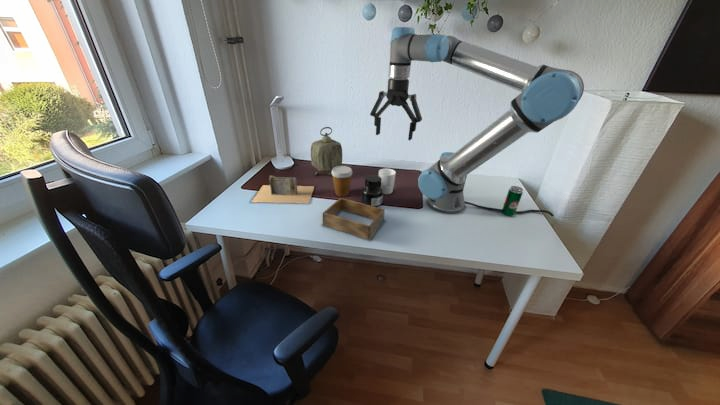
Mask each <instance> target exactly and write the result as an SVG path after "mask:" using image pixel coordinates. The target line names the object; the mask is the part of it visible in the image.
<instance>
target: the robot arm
mask: <svg viewBox="0 0 720 405" xmlns="http://www.w3.org/2000/svg"><path fill="white" fill-rule="evenodd" d="M389 44H390V45H389V46H390V48H389V64H388V76H387V77H388V79H387V90H386V91H384V90H381V91H379V92H378V98H377V100H376V102H375V103H374V106H373V108H372V109H371V110H370V111H371V112H370V113H369V115H370V116H371V117H373V118H374V123H373V125H374V126H375V136H379V135H380V134H381V125H382V124H381V122H382V117H381V116H382V114H383V113H384V112H385V111H386V110H387V108H388V107H389V106H392V107H393V106H394V107H395V106H396V107H402V109H403V110H404V111H405V113H406V114H407V116H408V117H409V119H410V123H409V128H408V129H409V130H408V137H407V138H408V139H407V140H408V141H411V140H412V139H413V134H414V132H415V131H416V130H417V123H421V122H422V121H423V117H422V114H421V111H420V107H419V104H418V101H417V94H416V93H413V94H409V86H410V79H409V78H410V74H411V68H412V61H415V62H430V63H441V62H443V63H447V64H450V65H452V66H455V67H458V68H460V69H462V70H465V71H467V72H471V73H473V74H475V75H478V76H480V77H483V78H485V79H487V80H490V81H493V82H495V83H498V84H500V85H503V86H506V87H508V88H510V89H513V90H516V91H518V92H520V93H519V94H518V95H517V96H515V97H514V98H513V99H512V100H511V101H510V104H509V109H508V110H506V112H504V113H503V114H502V115H500V116H499V117H498V118H496V120H493V122H491V123H490V124H489V125H487V127H485V128H484V129H483V130H482V131H480V132H479V133H478V134H476V135H474V137H473V138H471V139H470V140H469V141H468V142H466V143H465V144H464V145H463V146H461V147H460V148H458V149H457V151H455V152H451V151H445V152H442V153H441V154H440V157H439V159H438V160H437V161H436V162H435V163H433V164H432V165H431V166H429V167H428V168H427V169H425V170H423V171H422V172H421V173H420V174H419V176H418V178H417V179H418V180H417V182H418V183H417V186H418V188H419V191H420V193H421V194H422V195H423V196H424V197H426V198H427V204H428V206H429V207H430V208H432V209H433V210H435V211H437V212H440V213H444V214H457V213H460V212H462V211H463V210H464V208H465V205H469V206H473V207H476V208H480V209H483V210H489V211H495V212H502V209H503V208H502V209H501V208H496V207H489V206H483V205H480V204H479V205H478V204H475V203H472V202H469V201H465V196H464V189H465V185H466V181H467V177H468V175H469V174H470V173H472V172H473V171H475V170H476V169H478V168H479V167H480V166H482V165H483V164H485V163H487V162H488V161H489V160H491V159H492V158H494V157H495V156H497V155H498V154H499V153H501V152H502V151H504V150H505V149H507V148H508V147H510V146H511V145H512V144H514V143H515V142H517V141H518V140H520V139H521V138H522V137H524V136H526V135H527V134H529V133H535V134H537V133H539V132H541V131H543V130H544V129H546V128H547V127H548V126H550V125H552V124H553V123H554V122H557V121H558V120H561V119H563V118H565V117H566V116H568V115H569V114H570V113H572V111H573V110H574V109H575V108H576V107H577V105H578V104H579V101H580V100H581V99H582V97H583V94H584V89H585V83H584V80H583V78H582V77H581V75H579V74H578V73H577V72H576V71H573V70H570V69H563V68H558V67H553V66H549V65H547V64H541V65H540V64H539V65H538V66H537V65H534V64H530V63H528V62H525V61H522V60H519V59H516V58H513V57H510V56H508V55H504V54H502V53H499V52H495V51H493V50H490V49H488V48H484V47H482V46H479V45H475V44H473V43H470V42H467V41H464V40H461V39H459V38H457V37H455V36H454V35H447V34H446V35H445V34H441V33H431V34H417V33H415V28H414V27H410V26H396V27H393V28H392V30H391V38H390V42H389ZM385 97H386V99H387V100H386V102H385V103H384V104H383V105H382V106H381V104H382V102H383V100H384V99H385ZM408 99H409V101H410V103H411V106H412V109H411V107H410V105H409V103H408ZM380 106H381V107H380ZM379 108H380V109H379ZM526 213H546V214H549V215H550V216H551V217H555V215H554V214H553V213H552V212H551V211H549V210H545V209H526V210H516V213H515V214H526Z"/></svg>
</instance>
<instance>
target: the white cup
mask: <svg viewBox="0 0 720 405" xmlns="http://www.w3.org/2000/svg"><path fill="white" fill-rule="evenodd" d="M396 174H397V172H396V170H395V169H392V168H388V167H387V168H386V167H385V168H381V169H379V170H378V176H379V177H381V188H382V189H383V195H391V194H392V193H393V192H394V187H395V181H396Z"/></svg>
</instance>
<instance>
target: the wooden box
mask: <svg viewBox="0 0 720 405" xmlns="http://www.w3.org/2000/svg"><path fill="white" fill-rule="evenodd" d="M341 211H343V212H346V213H350V214H353V215H357V216H361V217H363V218H366V219H367V218H368V219H370V220H372V221H371V223H370V224H369V225H367V224H364V223H362V222H358V221H355V220H351V219H348V218H344V217H341V216H337V215H338V214H339V213H340V212H341ZM384 221H385V209H384V208H381V207H374V206H370V205H366V204H363V203H362V202H358V201H355V200H351V199H347V198H344V197H339V198H338V199H337V200H336V201H334V203H333V204H331V205H330V206H328V208H327V209H325V210H324V211H323V212H322V225H323V226H325V227H328V228H331V229H333V230H337V231H340V232H343V233H346V234H349V235H352V236H356V237H358V238H362V239H365V240H368V241H370V240H371V239H372V238H373V236H374V235H375V234H376V233H377V231H378V230H379V228H380V227H381V225H382V224H383V223H384Z"/></svg>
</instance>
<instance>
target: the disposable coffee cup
mask: <svg viewBox="0 0 720 405" xmlns="http://www.w3.org/2000/svg"><path fill="white" fill-rule="evenodd" d="M330 172H331V174H332V175H331V176H332V180H333V187H334V194H335V195H336V196H337V197H340V198H344V197H347V196H349V195H350V188H351V182H352V175H353V173H354V172H353V170H352V168H351V167H349V166H346V165H341V166H337V167H334V168H333V169H332V170H330Z"/></svg>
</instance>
